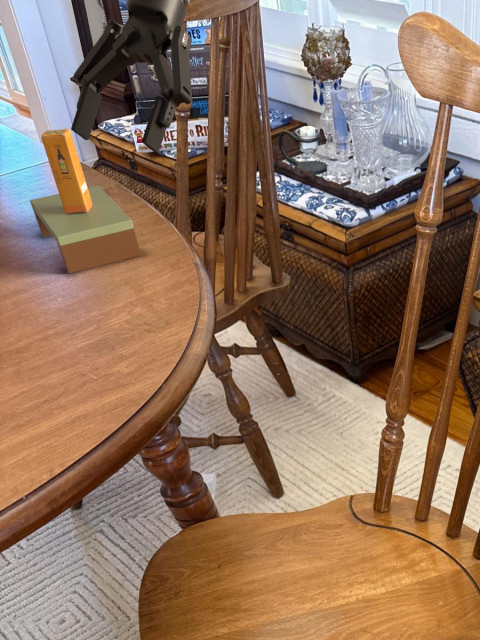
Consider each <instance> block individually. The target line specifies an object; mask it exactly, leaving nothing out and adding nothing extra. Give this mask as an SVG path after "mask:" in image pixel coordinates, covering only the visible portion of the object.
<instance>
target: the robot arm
mask: <svg viewBox="0 0 480 640" xmlns="http://www.w3.org/2000/svg"><path fill="white" fill-rule="evenodd" d="M190 2H191V0H126V9H127V13H128V18H127V20H126V21H125V23H124V24H119V23H118V22H117V21H116V20H115V19H113V18H110V19H108V21H107V23H106V25H105V28H104V30H103V32H102V34H101V36H100V37H98V39H97V41H96V42H95V44H94V46H93V47H92V48H91V49H90V51H89V52H88V53H87V55H86V56H85V58H84V59H83V61H82V62H81V64H80V65H79V66H78V67H77V69H76V70H75V72H74V73H73V79H74V80H75V81H76V82H77V83H79V84H80V85H81V90H80V93H79V96H78V99H77V103H76V112H75V114H74V118H73V121H72V123H71V128H70V131H72V132H73V133H75V134H76V135H78V136H79V137H80V138H82V139H83V140H85V141H90V137H91V135H92V131H93V128H94V124H95V121H96V118H97V115H98V112H99V108H100V106H101V104H102V103H101V102H102V100H103V96H102V95H101V92H102V91H103V90H104V89H105V88H106V87H107V86H109V84H110V83H111V82H112V81H113V80H115V78H116V77H118V76H119V75H120V74H121V73H122V72H123V71H124V70H125V69H126V68H127V67H132V66H134V65H135V64H136V63H139V64H143V63H147V64H149V65H152V67H153V69H154V73H155V75H156V79H157V82H158V85H159V88H160V90H159V91H158V93H159V94H160V95H156V96H155V99H154V102H153V105H152V108H151V110H150V113H149V117H148V120H147V123H146V126H145V130H144V132H143V136H142V139H141V143H142V144H143V145H144V146H146V147H147V148H148V149H149V150H151V151H152V152H153V153H154V154H155V153H156V154H159V153H160V151H161V146H162V143H163V142H164V141H163V140H164V137H165V135H166V132H167V129H169V128H170V127H171V125H172V121H173V119H174V115H175V113H176V109H177V108H179V107H180V105H181V104H185V105H190V104H191V103H192V101H193V91H192V90H193V89H192V76H191V59H190V51H191V47H192V43H193V39H192V37H191V36H190V35H189V34H188V33H187V32H186V30H185V29H184V28H183V24H184V21H185V18H186V15H187V8H188V7H189V5H190ZM124 48H125V50H124ZM169 49H170V50H171V51H170V55H171V61H170V57H169V55H168V50H169ZM171 68H172V69H171Z"/></svg>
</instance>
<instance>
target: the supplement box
mask: <svg viewBox="0 0 480 640" xmlns="http://www.w3.org/2000/svg"><path fill="white" fill-rule="evenodd" d="M71 131H72V130H71V128H64V129H51V130H50V129H49V130H46V131H44V132H43V133H42V134H41V137H40V139H41V142H42V145H43V147H44V151H45V154H46V157H47V161H48V164H49V166H50V169H51V173H52V175H53V179H54V182H55V186H56V189H57V192H58V194H59V195H60V198H61V202H62V205H63V208H64V212H65V213H80V212H88V211H89V210H90V208H91V206H92V201H91V198H90V194H89V191H88V185H87V181H86V177H85V174H84V170H83V168H82V165H81V161H80V159H79V154H78V151H77V148H76V145H75V141H74V137H73V134H72V132H71Z"/></svg>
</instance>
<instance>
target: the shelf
mask: <svg viewBox="0 0 480 640" xmlns="http://www.w3.org/2000/svg"><path fill="white" fill-rule="evenodd" d="M87 187H88V186H87ZM88 191H89V194H90V198H91V201H92V206H91V208H90V210H89V211H88V212H80V213H65V212H64V208H63V205H62V202H61V198H60V195H59V193H57V194H51V195H47V196H43V197H38V198H33V199H29V203H30V205H31V208H32V211H33V214H34V218H35V220H36V222H37V223H36V224H37V226H38V229H39V231H40V235H42V237H43V238H49V237H53V238H54V239H53V240H55V241H56V244H57V247H58V249H59V253H60V255H61V258H62V261H63V265H64V267H65V270H66V272H67V273H68V274H70V275H71V274H73V273H78V272H82V271H85V270H86V271H87V270H89V269H93V268H97V267H101V266H105V265H110V264H114V263H117V262H120V261H125V260H129V259H133V258H136V257H140V256H142V253H141V250H140V246H139V243H138V239H137V235H136V232H135V228H134V224H133V220H132V219H131V218H130V217H129V216H128V215H127V214H126V212H124V210H123V209H122V208H121V207H120V206H119V205H118V204H117V203H116V202H115V201H114V200H113V199H112V198H111V197H110V195H109V194H108V193H106V191H104V189H103V188H102V187H101V186H100V185H93V186H89V187H88Z"/></svg>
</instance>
